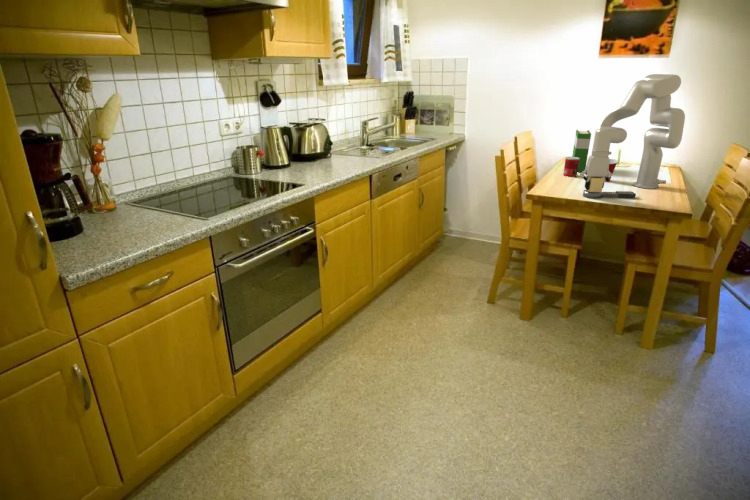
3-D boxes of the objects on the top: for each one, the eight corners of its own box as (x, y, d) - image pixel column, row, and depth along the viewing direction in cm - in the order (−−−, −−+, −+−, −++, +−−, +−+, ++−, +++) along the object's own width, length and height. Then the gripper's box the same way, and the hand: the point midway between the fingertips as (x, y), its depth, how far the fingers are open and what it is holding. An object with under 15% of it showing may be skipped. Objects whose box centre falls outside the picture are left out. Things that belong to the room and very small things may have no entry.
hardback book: (570, 166, 301) (576, 129, 292) (582, 167, 299) (588, 130, 290) (572, 172, 286) (578, 133, 277) (584, 172, 284) (591, 134, 275)
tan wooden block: (597, 189, 235) (599, 175, 232) (601, 192, 229) (604, 178, 226) (585, 188, 235) (587, 175, 233) (589, 191, 230) (591, 178, 227)
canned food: (575, 177, 272) (577, 159, 268) (561, 175, 277) (564, 158, 273) (578, 175, 278) (581, 157, 274) (565, 173, 282) (567, 156, 278)
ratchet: (585, 198, 230) (588, 186, 227) (580, 193, 238) (582, 181, 236) (636, 199, 227) (639, 187, 225) (629, 194, 235) (632, 182, 233)
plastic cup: (590, 180, 265) (594, 160, 260) (598, 177, 272) (601, 157, 267) (610, 183, 257) (614, 162, 253) (617, 180, 264) (621, 160, 260)
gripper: (615, 152, 228) (608, 187, 234) (579, 152, 230) (573, 187, 236) (620, 155, 221) (613, 191, 228) (584, 155, 223) (578, 190, 229)
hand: (593, 188), depth 232 cm, fingers closed on tan wooden block, 6 cm apart
